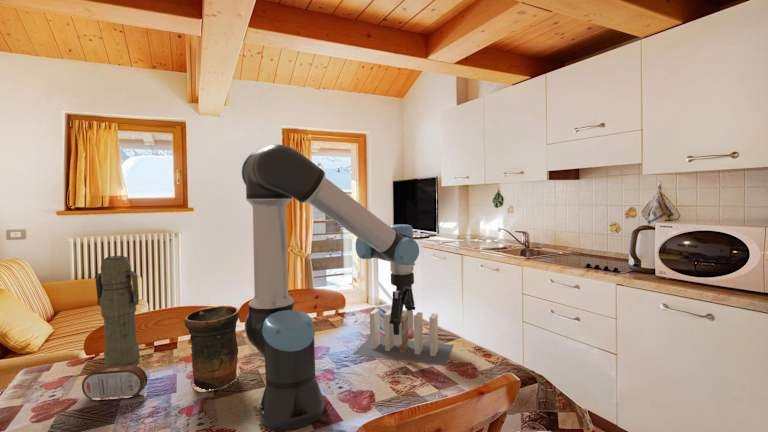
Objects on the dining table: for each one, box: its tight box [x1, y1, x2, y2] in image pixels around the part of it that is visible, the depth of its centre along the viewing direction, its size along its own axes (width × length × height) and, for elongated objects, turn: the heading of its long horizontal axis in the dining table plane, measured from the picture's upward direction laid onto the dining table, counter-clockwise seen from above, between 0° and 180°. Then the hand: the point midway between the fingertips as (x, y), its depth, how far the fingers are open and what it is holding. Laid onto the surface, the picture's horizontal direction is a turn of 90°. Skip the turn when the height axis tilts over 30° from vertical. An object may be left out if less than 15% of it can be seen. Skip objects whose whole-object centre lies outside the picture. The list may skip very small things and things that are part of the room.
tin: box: [81, 365, 148, 400], centre depth 104 cm, size 15×3×8 cm, turn 98°
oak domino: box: [399, 310, 409, 353], centre depth 130 cm, size 2×5×12 cm, turn 161°
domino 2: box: [383, 310, 394, 351], centre depth 131 cm, size 2×5×12 cm, turn 161°
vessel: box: [183, 305, 240, 391], centre depth 113 cm, size 14×14×20 cm
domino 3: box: [413, 311, 424, 354], centre depth 128 cm, size 2×5×12 cm, turn 161°
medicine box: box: [377, 305, 396, 333], centre depth 149 cm, size 8×4×9 cm, turn 25°
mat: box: [352, 336, 455, 366], centre depth 130 cm, size 16×30×1 cm, turn 71°
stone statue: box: [95, 255, 141, 367], centre depth 121 cm, size 9×12×35 cm
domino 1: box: [369, 308, 381, 349], centre depth 133 cm, size 2×5×12 cm, turn 161°
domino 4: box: [428, 313, 439, 356], centre depth 126 cm, size 2×5×12 cm, turn 161°
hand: (403, 336), depth 130 cm, fingers open, 13 cm apart
